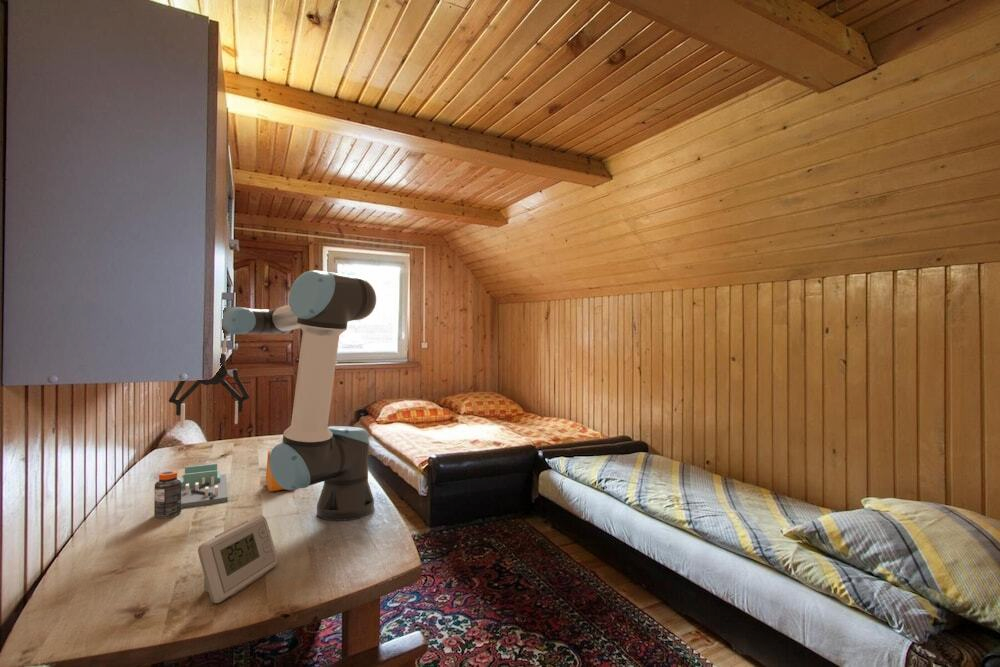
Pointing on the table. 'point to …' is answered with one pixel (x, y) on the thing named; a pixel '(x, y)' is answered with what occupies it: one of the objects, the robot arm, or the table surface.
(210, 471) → the end holder
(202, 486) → the cable
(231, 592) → the digital clock
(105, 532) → the table surface
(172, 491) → the pill bottle
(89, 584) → the table surface
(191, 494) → the board
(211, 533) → the table surface
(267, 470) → the bracket
